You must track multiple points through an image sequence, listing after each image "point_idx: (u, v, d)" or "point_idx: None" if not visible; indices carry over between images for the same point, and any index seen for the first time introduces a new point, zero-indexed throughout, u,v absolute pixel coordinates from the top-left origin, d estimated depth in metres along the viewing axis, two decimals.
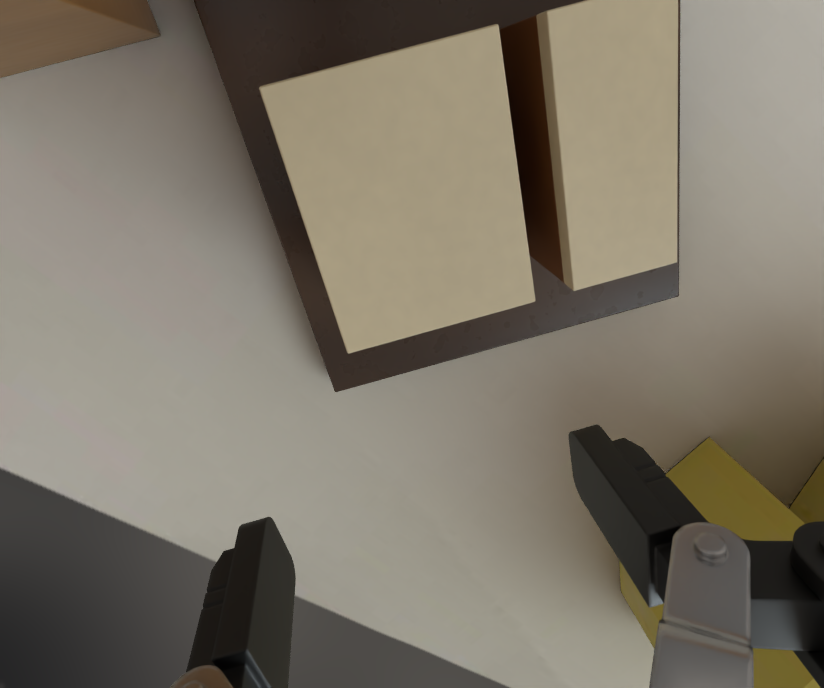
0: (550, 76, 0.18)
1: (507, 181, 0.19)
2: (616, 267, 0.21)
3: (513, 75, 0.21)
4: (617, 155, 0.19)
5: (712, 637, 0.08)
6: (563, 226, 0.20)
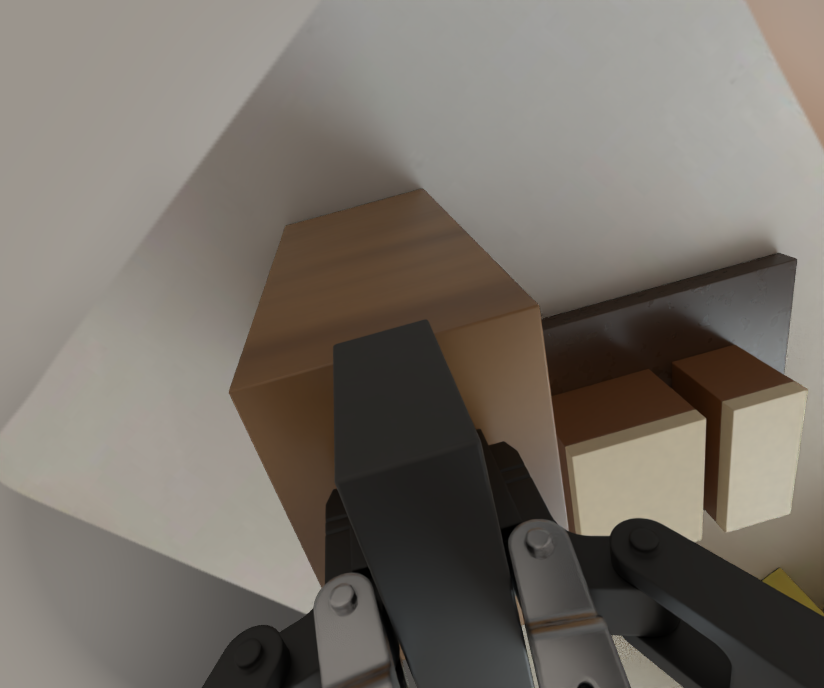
0: (729, 434, 0.30)
1: (697, 485, 0.31)
2: (753, 519, 0.34)
3: (688, 398, 0.34)
4: (762, 468, 0.32)
5: (572, 622, 0.08)
6: (723, 499, 0.33)
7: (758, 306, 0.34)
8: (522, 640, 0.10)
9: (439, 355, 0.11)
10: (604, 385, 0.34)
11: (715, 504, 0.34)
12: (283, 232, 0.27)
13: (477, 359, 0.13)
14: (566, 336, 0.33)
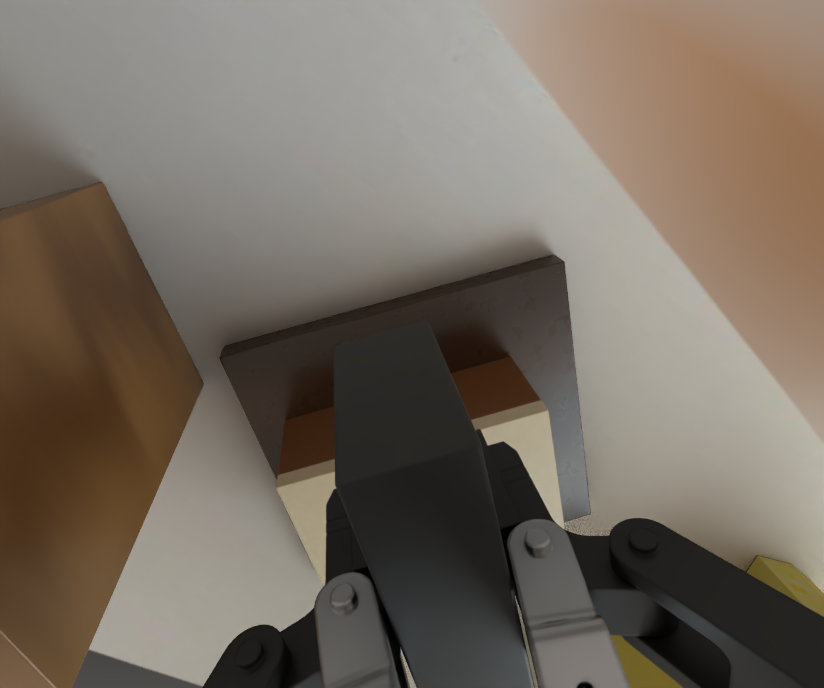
0: None
1: None
2: None
3: None
4: None
5: (571, 622, 0.08)
6: None
7: (529, 314, 0.30)
8: (522, 641, 0.10)
9: (439, 357, 0.11)
10: None
11: None
12: None
13: None
14: (305, 348, 0.29)
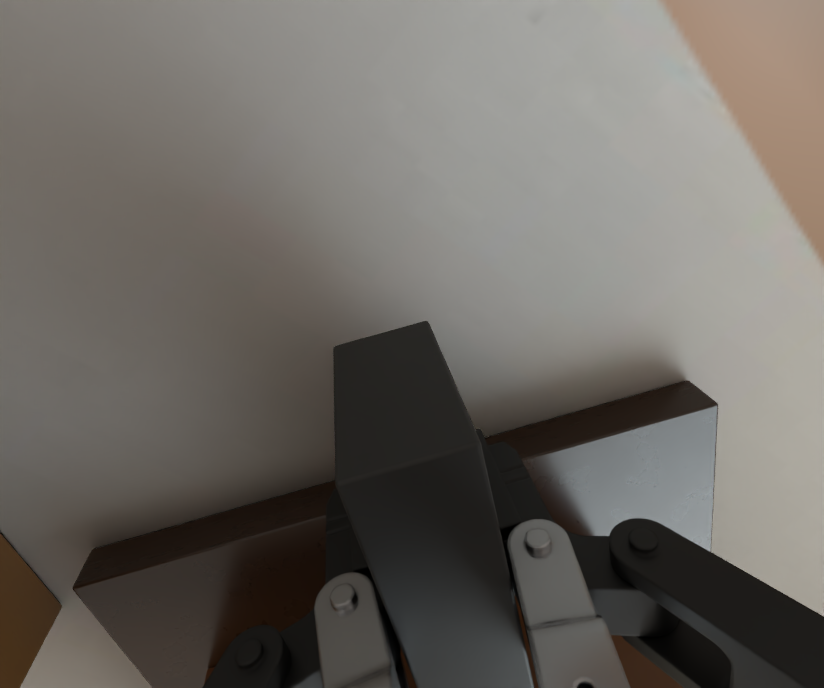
0: None
1: None
2: None
3: None
4: None
5: (571, 622, 0.08)
6: None
7: (645, 489, 0.17)
8: (522, 641, 0.10)
9: (439, 357, 0.11)
10: None
11: None
12: None
13: None
14: (236, 564, 0.16)
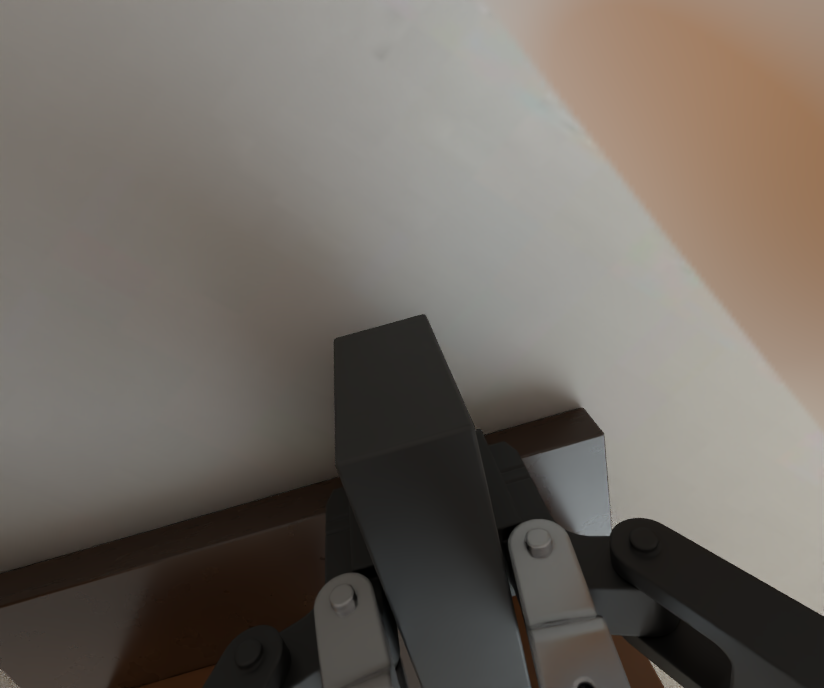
0: None
1: None
2: None
3: None
4: None
5: (572, 622, 0.08)
6: None
7: None
8: (515, 622, 0.11)
9: (436, 348, 0.11)
10: None
11: None
12: None
13: None
14: (120, 596, 0.16)
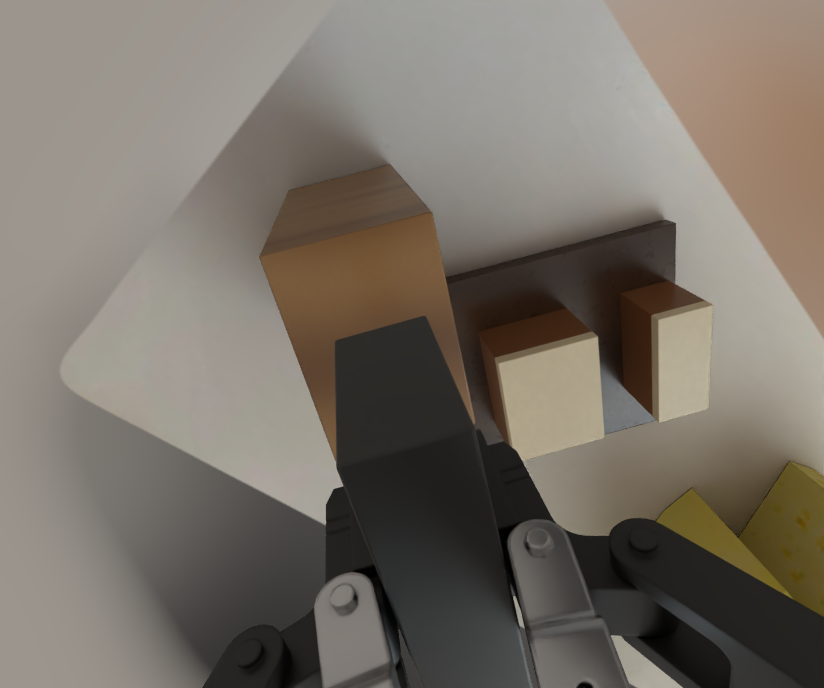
0: (656, 340, 0.41)
1: (596, 391, 0.42)
2: (679, 412, 0.44)
3: (630, 319, 0.44)
4: (683, 368, 0.42)
5: (571, 622, 0.08)
6: (655, 395, 0.43)
7: (648, 260, 0.44)
8: (516, 623, 0.11)
9: (436, 349, 0.11)
10: (531, 320, 0.44)
11: (651, 401, 0.45)
12: (287, 194, 0.38)
13: (398, 243, 0.24)
14: (500, 280, 0.43)
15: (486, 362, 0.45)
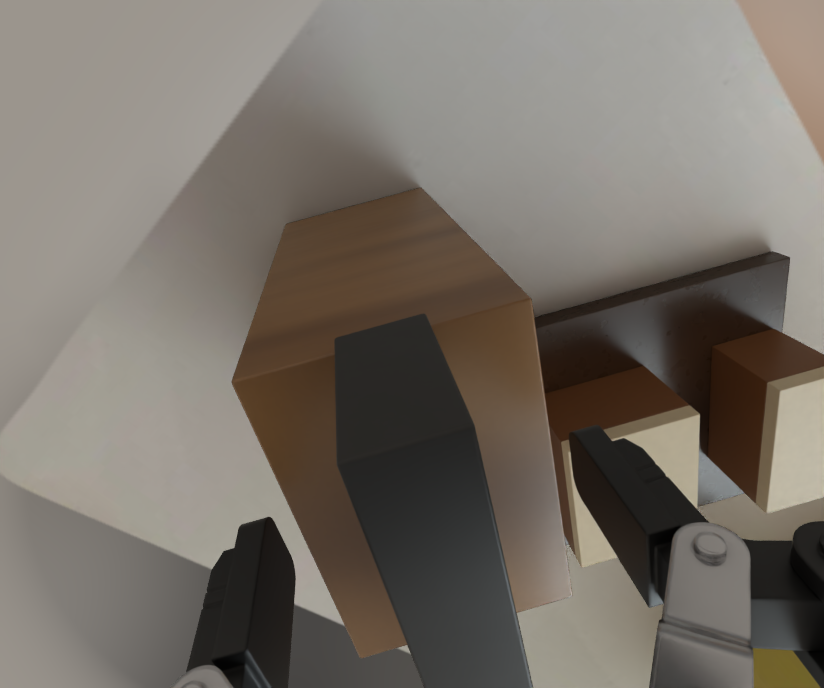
0: (774, 415, 0.31)
1: (691, 480, 0.32)
2: (793, 500, 0.34)
3: (729, 381, 0.34)
4: (805, 448, 0.32)
5: (712, 637, 0.08)
6: (764, 480, 0.33)
7: (752, 304, 0.34)
8: (515, 619, 0.11)
9: (436, 347, 0.11)
10: (600, 382, 0.35)
11: (755, 485, 0.35)
12: (283, 230, 0.28)
13: (471, 351, 0.14)
14: (562, 333, 0.33)
15: None
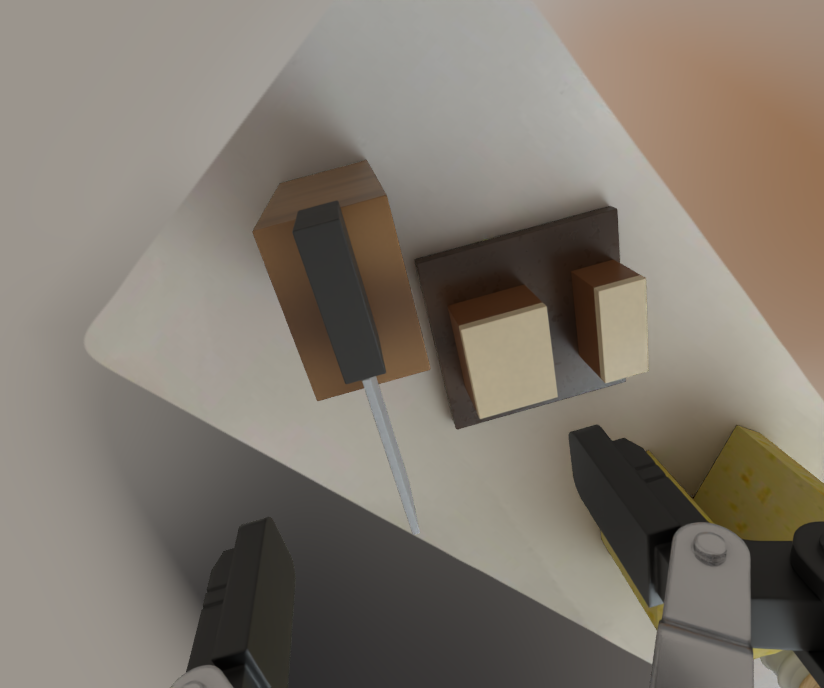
0: (598, 309, 0.47)
1: (548, 354, 0.48)
2: (623, 374, 0.51)
3: (580, 293, 0.51)
4: (623, 334, 0.49)
5: (712, 637, 0.08)
6: (601, 358, 0.50)
7: (595, 241, 0.51)
8: (367, 314, 0.27)
9: (336, 206, 0.28)
10: (493, 294, 0.51)
11: (599, 365, 0.51)
12: (278, 186, 0.44)
13: (361, 220, 0.30)
14: (465, 259, 0.49)
15: (454, 332, 0.51)
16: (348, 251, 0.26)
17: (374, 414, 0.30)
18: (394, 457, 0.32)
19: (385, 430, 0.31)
